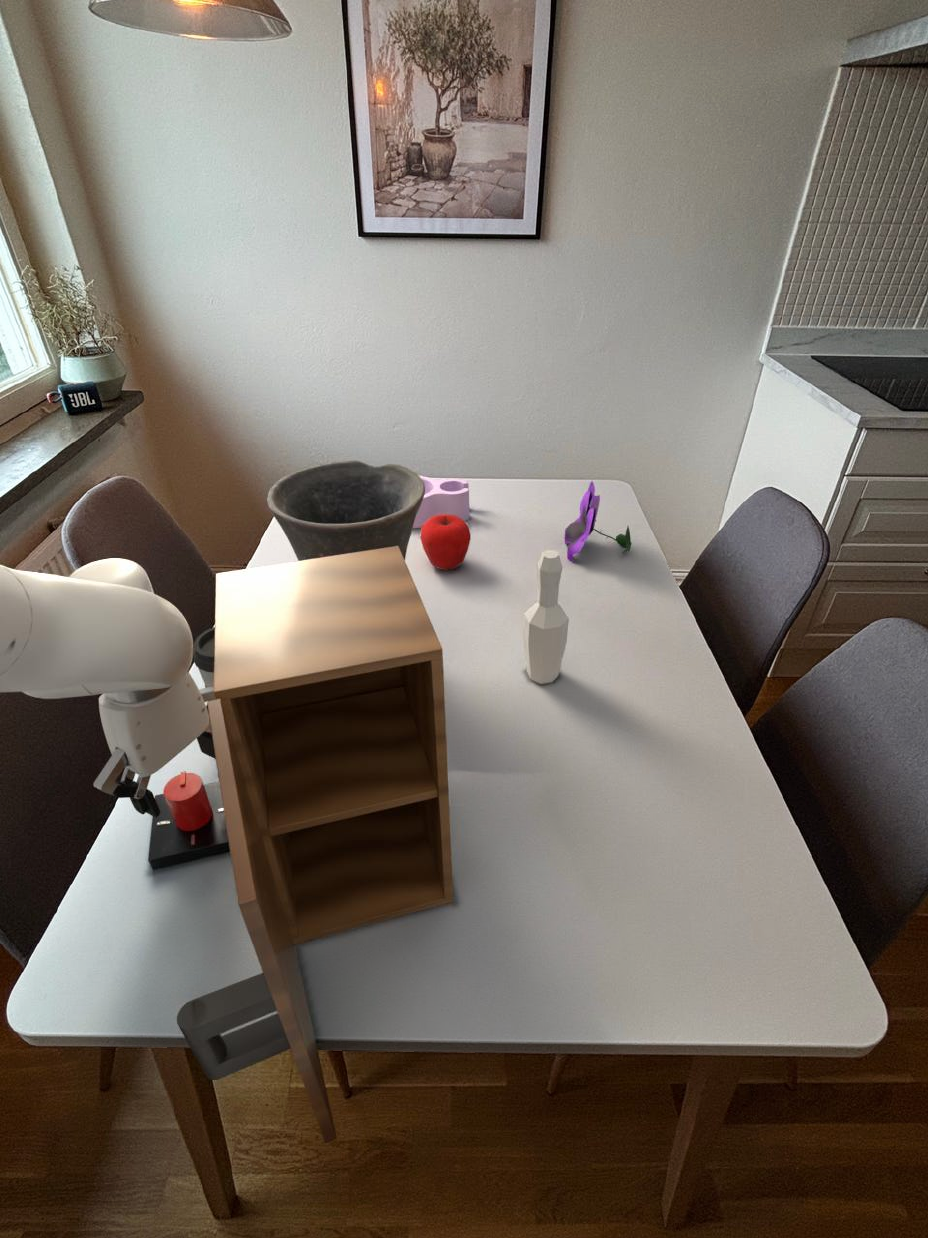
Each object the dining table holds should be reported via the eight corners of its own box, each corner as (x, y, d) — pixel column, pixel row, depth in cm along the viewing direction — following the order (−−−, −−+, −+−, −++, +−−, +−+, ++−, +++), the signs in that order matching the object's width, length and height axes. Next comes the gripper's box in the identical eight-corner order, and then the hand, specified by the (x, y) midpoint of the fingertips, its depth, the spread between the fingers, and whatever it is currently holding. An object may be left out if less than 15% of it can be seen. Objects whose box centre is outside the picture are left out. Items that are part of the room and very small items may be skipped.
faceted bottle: (514, 670, 109) (518, 550, 96) (545, 656, 112) (554, 538, 99) (539, 692, 105) (546, 570, 92) (570, 677, 108) (582, 557, 95)
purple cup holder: (468, 501, 160) (467, 474, 155) (469, 526, 149) (469, 498, 145) (382, 504, 159) (380, 476, 155) (378, 529, 149) (375, 500, 145)
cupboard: (453, 901, 76) (442, 648, 56) (290, 946, 73) (213, 692, 52) (417, 782, 91) (398, 545, 70) (280, 814, 87) (215, 573, 66)
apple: (412, 564, 137) (409, 515, 130) (449, 548, 142) (448, 500, 135) (443, 584, 131) (441, 533, 124) (480, 566, 135) (480, 517, 129)
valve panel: (240, 850, 82) (236, 838, 81) (152, 870, 80) (147, 859, 79) (238, 788, 90) (235, 777, 89) (159, 805, 88) (154, 794, 87)
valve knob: (212, 826, 83) (201, 794, 80) (174, 835, 82) (161, 803, 79) (213, 798, 86) (202, 767, 83) (176, 806, 85) (163, 775, 82)
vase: (272, 665, 111) (233, 496, 94) (362, 604, 125) (343, 447, 108) (372, 719, 101) (349, 540, 83) (458, 645, 115) (454, 479, 97)
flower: (606, 555, 148) (553, 529, 145) (648, 500, 140) (592, 471, 137) (616, 592, 136) (558, 564, 133) (662, 534, 128) (601, 503, 125)
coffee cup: (203, 733, 99) (176, 652, 90) (236, 697, 105) (214, 617, 96) (253, 746, 96) (230, 664, 88) (283, 708, 103) (265, 628, 94)
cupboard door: (247, 1181, 56) (110, 950, 35) (222, 978, 70) (113, 726, 49) (336, 1138, 58) (256, 899, 38) (295, 950, 72) (220, 698, 51)
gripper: (179, 619, 78) (213, 725, 89) (40, 712, 66) (99, 823, 76) (227, 638, 75) (257, 745, 86) (91, 738, 63) (145, 850, 73)
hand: (182, 782), depth 81 cm, fingers open, 9 cm apart
